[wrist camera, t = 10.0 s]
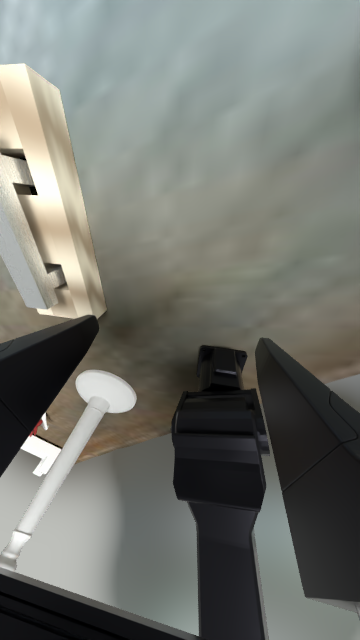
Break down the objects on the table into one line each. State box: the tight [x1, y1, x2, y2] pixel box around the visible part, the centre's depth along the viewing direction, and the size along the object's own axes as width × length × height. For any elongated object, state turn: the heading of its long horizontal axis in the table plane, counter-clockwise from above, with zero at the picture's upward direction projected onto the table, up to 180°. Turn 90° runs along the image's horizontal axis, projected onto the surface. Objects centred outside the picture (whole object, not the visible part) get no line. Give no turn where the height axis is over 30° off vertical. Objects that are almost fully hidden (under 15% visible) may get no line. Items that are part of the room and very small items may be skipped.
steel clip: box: [0, 152, 67, 310], centre depth 17 cm, size 14×2×6 cm, turn 178°
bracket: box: [21, 435, 61, 476], centre depth 58 cm, size 13×7×8 cm, turn 47°
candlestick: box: [0, 370, 137, 572], centre depth 24 cm, size 13×13×30 cm
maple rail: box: [0, 64, 107, 319], centre depth 18 cm, size 20×8×3 cm, turn 178°
